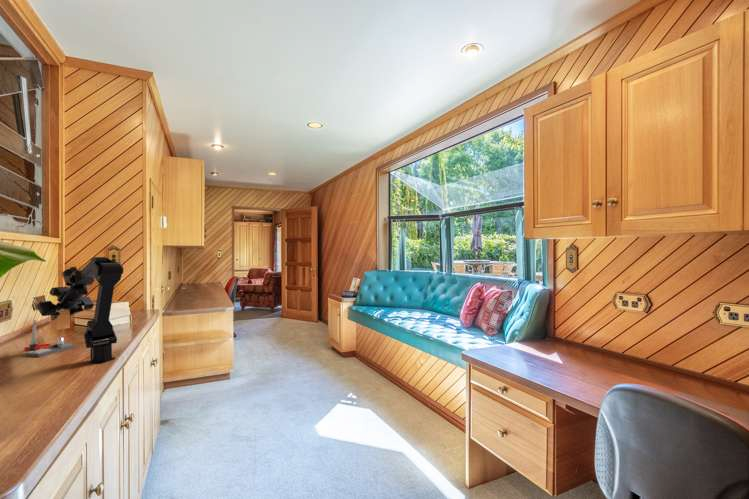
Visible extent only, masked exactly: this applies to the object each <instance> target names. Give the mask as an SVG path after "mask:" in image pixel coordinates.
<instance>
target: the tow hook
mask: <svg viewBox="0 0 749 499" xmlns="http://www.w3.org/2000/svg"><path fill="white" fill-rule="evenodd" d="M31 329H32V334H31V341H30V344H29V346H25V347H24V348H23V350H24V351H35V350H39V349H44V348H48V347H49V345H51V344H54V343H50V342H49V343H39V344H38V343H37V320H33V324H32V328H31Z"/></svg>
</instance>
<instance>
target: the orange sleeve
mask: <svg viewBox="0 0 749 499" xmlns="http://www.w3.org/2000/svg"><path fill="white" fill-rule="evenodd" d="M59 313H60V315H59V316H58V317H56V318H55V319H54V320H51V319H50V330H52V331H53V330H55V331H61V330H65V329H70V328H71V316H70V309H66V310H64V309H61V310H60V311H59Z"/></svg>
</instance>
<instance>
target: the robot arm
mask: <svg viewBox="0 0 749 499" xmlns="http://www.w3.org/2000/svg"><path fill="white" fill-rule="evenodd" d="M61 274H62V275H61V276H62V278H63V281H64V283H65V286H56V287H51V288H50V290H49V295H50V296H53V297H57V299H56V300H57V303H56V304H54V303H53V301H51V300H45V301H39V302H38V303H37V304H36V308H37V310H38V312H39V313H40V315H41V316H42V317H47V316H50V321H51V320H54V319H55V318H56V317H58V316H59V315H60V313H59V311H60V310H61V309H64V310H66V309H70V317H72V316H74V315H76V314H78V313H81V312H84V311H90V310H92V309H93V308H94V306H95V309H94V316H93V319H92V320H87V322H86V327H85V331H84V333H83V338H84V344H85V348H86V349H87V348H88V349H90V351H89V352H90V354H89V355H90V357H89V358H90V359H89V360H87V361H86V363H92V364H102V363H103V364H104V363H106V362H109V361H112V360H114V359H116V356H113V346H112V345H113V344H117V341H118V337H117V335H116V332H115V330H114V326H113V324H112V323H111V321H110V315H111V308H112V304H113V303H112V302H113V297H114V292H115V291H114V290H115V286H116V285H117V284H118V283H119V282H120V281H121V278H122V275H123V274H124V266H123V265H122V264H120V263H119V261H116V260H113V259H110V258H109V257H106V256H94V257H91V258H90V261H89V262H88V263H87V264H85V266H84V267H83V268H82V269H80V270H79V269H78V268H77V266H70V268H68V269H65V270H64V271H62V273H61ZM95 281H96V282H97V283H98V289H97V295H96V303H94V301H92V298H91V297H90V296H87V295H88V294H89V291H88V286H91V285H93V283H94V282H95Z"/></svg>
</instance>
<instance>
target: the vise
mask: <svg viewBox="0 0 749 499" xmlns="http://www.w3.org/2000/svg"><path fill="white" fill-rule="evenodd" d="M73 348H75V344H73V343H72V342H66V343H65V338H64V336H60V337H57V338H56V343H53V344H51V345H49V347H48V348H44V349H39V350H30V351H27V352H24V357H31V358H42V357H45V356H49V355H52V354H55V353H56V354H57V353H59V352H62V351H66V350H70V349H73Z"/></svg>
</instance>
